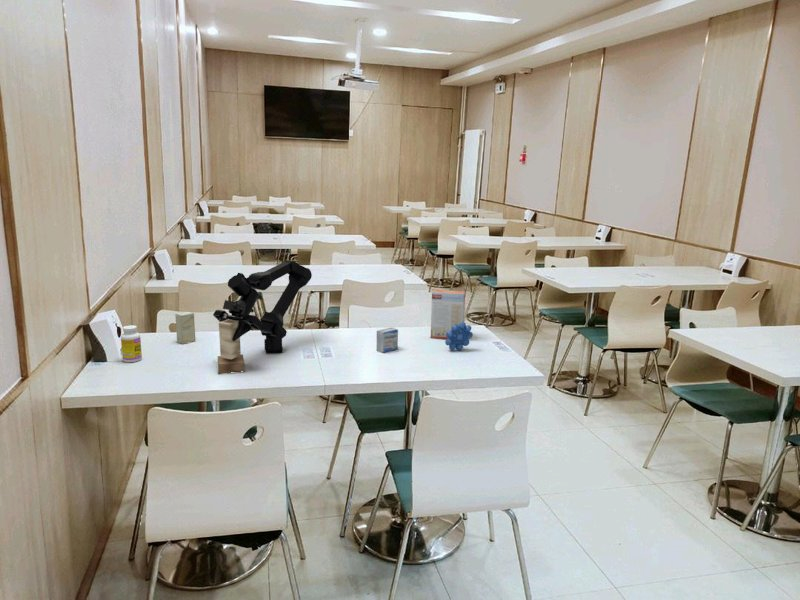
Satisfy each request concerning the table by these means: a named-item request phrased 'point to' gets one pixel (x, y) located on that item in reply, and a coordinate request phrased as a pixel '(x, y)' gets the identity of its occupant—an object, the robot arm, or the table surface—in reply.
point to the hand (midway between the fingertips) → (227, 339)
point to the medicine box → (387, 340)
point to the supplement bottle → (131, 344)
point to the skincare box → (185, 327)
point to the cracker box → (446, 311)
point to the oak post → (229, 339)
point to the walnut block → (230, 364)
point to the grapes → (459, 336)
